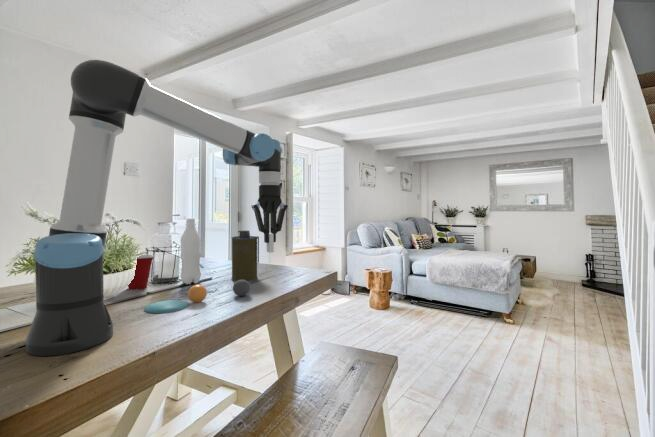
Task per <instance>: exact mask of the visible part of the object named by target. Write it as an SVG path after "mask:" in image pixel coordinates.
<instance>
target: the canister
mask: <svg viewBox="0 0 655 437" xmlns="http://www.w3.org/2000/svg"><path fill="white" fill-rule="evenodd" d="M237 233H239V235H235V236H232V237H231V281H233V282H236V281H238V280H246V281H247V282H248V283H249V282H253V281H254V282H255V281H257V279H258V264H259V263H260V237H259V236H257V235H256V236H255V235H251V234H250V230H238V231H237Z"/></svg>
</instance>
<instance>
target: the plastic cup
mask: <svg viewBox="0 0 655 437" xmlns="http://www.w3.org/2000/svg"><path fill="white" fill-rule="evenodd" d="M140 255H141V256H139V257H137V265H136V270H135V276H134V279H133V280H132V281H131V283H130V284H129V285H128V284H127V288H128V290H131V289H132V290H135V291H137V290H144V289H146V288H147V287H148V283H149V277H150V272H151V268H152V267H151V266H152V264H153V260H154V258H155V255H154V254H153V255H152V254H140ZM136 289H137V290H136Z"/></svg>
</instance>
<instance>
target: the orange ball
mask: <svg viewBox="0 0 655 437" xmlns="http://www.w3.org/2000/svg"><path fill="white" fill-rule="evenodd" d="M207 295H208V291H207V288H205V286H204V285H202V284H194V285H192V286H191V287H189V290H188V291H187V297H188V299H189V301H191V302H192V303H194V304H197V303H201V302H203V301H205V299H206V297H207Z"/></svg>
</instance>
